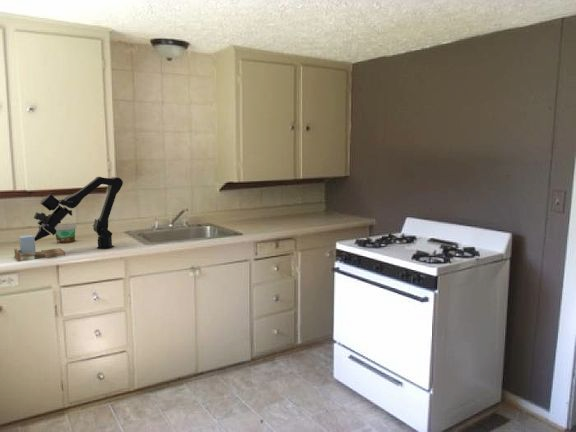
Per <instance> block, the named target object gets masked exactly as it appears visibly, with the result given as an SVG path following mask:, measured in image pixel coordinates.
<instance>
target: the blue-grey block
mask: <svg viewBox="0 0 576 432" xmlns="http://www.w3.org/2000/svg"><path fill="white" fill-rule="evenodd" d="M18 238H19V239H18V240H19V248H20V249H19V250H20V252H21V254H27V253H34V255H35V254H36V252H37V249H36V241H35V236H34V235H33V234H30V235H20V236H18Z"/></svg>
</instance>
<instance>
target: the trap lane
mask: <svg viewBox="0 0 576 432" xmlns="http://www.w3.org/2000/svg"><path fill="white" fill-rule="evenodd" d="M61 256H66V251H65V250H63V249H62V248H61V247H59V248H50V249H41V250H40V251H36V254H35V255H34V253H27V254H21V252H20V249H17V248H14V258H15V259H16V260H17V261H18V262H22V261H30V260H37V259H45V258H53V257H61Z"/></svg>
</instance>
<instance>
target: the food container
mask: <svg viewBox="0 0 576 432" xmlns="http://www.w3.org/2000/svg"><path fill="white" fill-rule="evenodd" d="M76 228H77V224H72V225H63V226H60V225H59V226H58V225H57V226H56V227H55V229H56V234H55V239H56V242H57V244H70V243H75V240H76Z"/></svg>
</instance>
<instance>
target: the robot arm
mask: <svg viewBox="0 0 576 432" xmlns="http://www.w3.org/2000/svg"><path fill="white" fill-rule="evenodd" d="M101 185H106V186H107V194H106V197H105V200H104V203H103V207H102V209H101V213H100V216H99V217H98V219H97V218H95V219H94V222H93V225H92V227H93V231H94V232H95V234H97V246H96V248H97V249H106V250H108V249H111V248H113V247H114V245H113V240H112V237H113V232H112V231H110V230H109V229H108V228H109V218H110V215H111V212H112V210H113V206H114V204H115V203H114V202H115V199H116V196H117V194H118V193H119V192H120V190H121V189H122V187H123V185H124V183H123V179H122V178H120V177H116V176H112V177H110V178H109V177H102V176H96V177H95V178H94V179H93V180H91V181H90V182H89V183H88V184H87V185H85V186H83V188H81V189H80V190H78V191H76V192H75V193H72V194H70V195H68V196H66V197H64V198H62V199H59V200H58V199H57V198H56V197H55V196H54V195H53V194H52V193H49V194H48V195H47V196H45V197H44V198H43V199H42V200H41V201H40V203H39V204H40V205H41V206H43V207H44V208H45V209H47V210H48V211H49V212H51V211H53V212H51V213H49V214H48V215H46V213H44V212H41V213H40V212H35V214H34V216H33V219H34V220H37V224H38V231H37V233H36V234H35V236H34V238H35V242H37V241H39V240H41V239H43V238H46V237H47V236H48V237H49V236H51V235H52V236H56V229H55V227H56V226H58V225H59V224H61V223H62V221H63V220H64V218H66V216H67V215H69V216H73V210H72V209H75V208H77V206H79V204H80V203H81V202H82V200H83V199H84V198H86V196H88V195H89V194H91V193H92V192H93V191H94V190H96V189H97V188H98V187H100V186H101ZM62 206H63V207H62ZM68 208H69V209H68Z"/></svg>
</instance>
